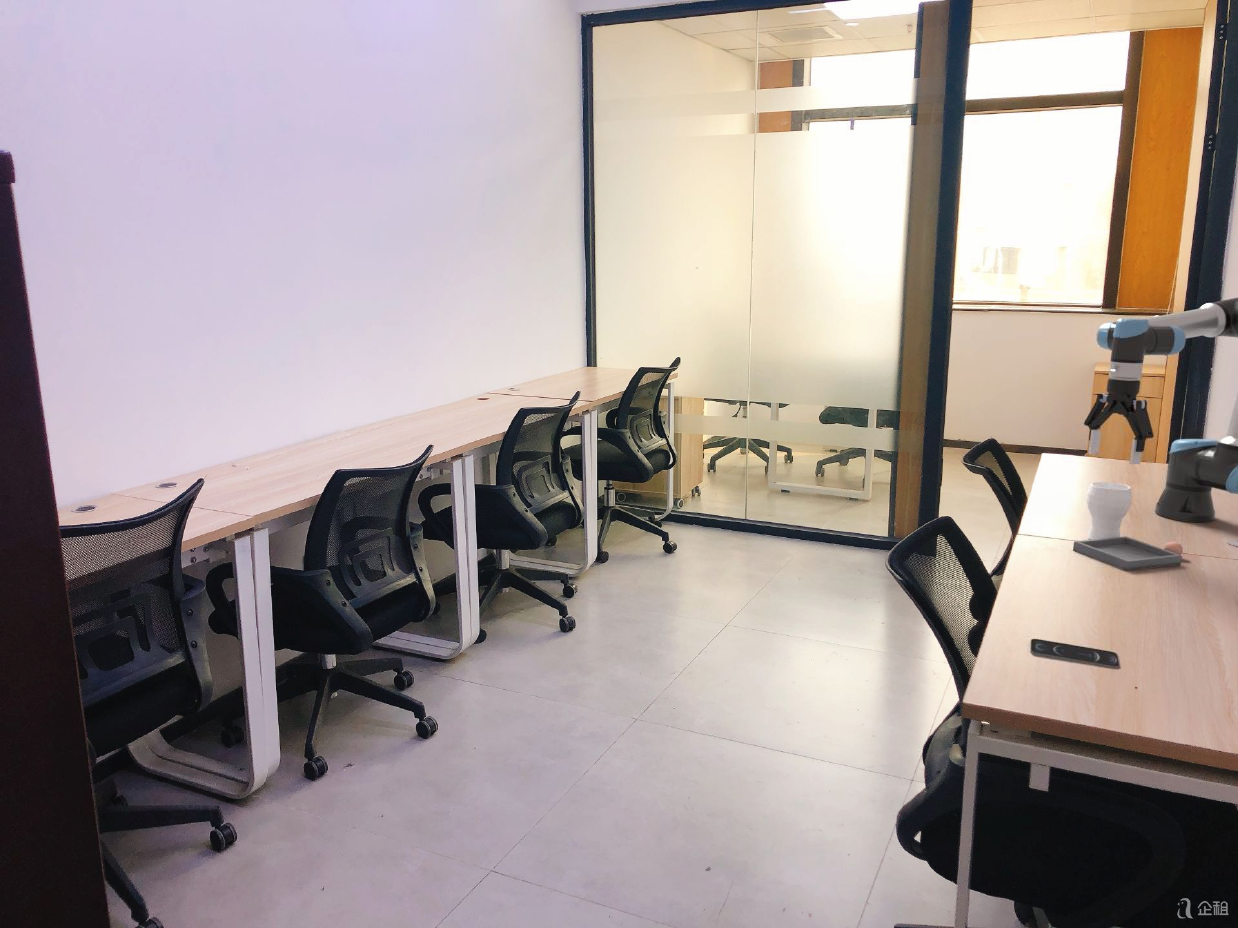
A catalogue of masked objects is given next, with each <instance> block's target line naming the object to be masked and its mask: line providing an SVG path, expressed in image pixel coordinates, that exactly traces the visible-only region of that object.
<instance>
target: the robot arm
mask: <svg viewBox="0 0 1238 928" xmlns="http://www.w3.org/2000/svg"><path fill="white" fill-rule="evenodd" d="M1200 336H1204V337H1207V338H1216V337H1229V338H1238V297H1234V298H1229V299H1224V300H1219V301H1218V300H1217V301H1215V302H1208V303H1205V304H1203V305H1201V306H1200V307H1199V308H1197V309H1191V310H1186V311H1179V312H1175V313H1168V314H1164V315H1159V316H1152V317H1147V318H1138V317H1137V318H1133V317H1128V318H1127V317H1122V318H1118V319H1117V320H1116V321H1111V322H1110V321H1109V322H1104V323H1103V324H1101V326H1099V328H1098V329H1097V332H1096V342H1097V345H1098V346H1099V347H1100V348H1102V349H1105V350H1109V351H1111V355H1110V362H1109V370H1108V376H1109V377H1110V378H1108V379H1107V382H1106V383H1107V384H1106V392H1107V393H1098V394H1097V396H1096V400H1095V402H1094V405H1093V406H1092V407H1091V410H1090V411H1089V413H1088V415H1087V417H1086V418H1085V419H1084V422H1083V424H1084V426H1086V427H1088V429H1089V433H1088V441H1089V445H1088V446H1089V447H1088V454H1089V455H1096V454H1099V451H1100V447H1101V446H1100V444H1101V438H1102V429H1101V427H1102V425H1104V424H1105V422H1106V421H1107V420H1108V419H1109V418H1110V417H1111V416H1112V415H1113V414H1118V415H1121V416H1122V415H1123V417H1124V418H1125V419H1126V421H1127V423H1128V425H1129V427H1130V429H1131V431H1132V433H1133V435H1134V438H1132V443H1131V451H1130V457H1129V458H1130V459H1129V465H1140V464H1141V462H1142V461H1141V460H1142V453H1144V451H1145V445H1146V441H1147V439H1153V438H1154V436H1155V435H1154V431H1153V427H1152V423H1151V420H1150V417H1149V416H1150V415H1149V412H1148V401H1147V400H1146V399H1143V400H1142V399H1141V400H1140V399H1139V400H1138V399H1137V395H1139V394H1140V388H1141V380H1140V379H1141V378H1142V373H1143V368H1144V367H1143V366H1144V359H1145V356H1165V357H1166V356H1172V355H1178V354H1179V353H1180V352H1181V351H1182V350H1183V349H1184V348H1185V346H1186V341H1187V339H1190V338H1195V337H1200ZM1231 412H1232V413H1231V416H1230V419H1229V424H1228V427H1227V431H1226V435H1225V436H1224V437H1223V438H1221V439H1219V440H1217V439H1209V438H1206V439H1205V438H1183V439H1182V438H1181V439H1175V440H1174V441H1173V442H1172V443H1171V445H1170V446H1171V447H1170V451H1169V454H1168V455H1169V456H1168V464H1167V470H1166V471H1167V472H1166V473H1167V474H1166V478H1165V479H1166V481H1165V487H1164V489H1163V491H1162V492H1161V495H1160V497H1159V499H1158V501H1157V502H1156V505H1155V510H1154V512H1155V514H1156V515H1159V516H1161V517H1163V518H1167V519H1170V520H1177V521H1180V522H1181V521H1182V522H1190V523H1207V522H1208V523H1209V522H1213V521H1215V517H1216V511H1215V508H1214V502H1213V500H1214V499H1213V496H1212V489H1216V490H1220V491H1224V492H1228V493H1230V494H1233V495H1238V392H1237V393H1236V397H1235V401H1234V405H1233V408H1232V411H1231Z"/></svg>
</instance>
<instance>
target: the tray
mask: <svg viewBox="0 0 1238 928" xmlns="http://www.w3.org/2000/svg"><path fill="white" fill-rule="evenodd" d="M1072 551H1074V552H1076V553H1079V554H1081V555H1084V556H1087V557H1089V558H1091V559H1094V560H1096V561H1100V562H1103V563H1105V564H1108V565H1110V566H1113V567H1115V568H1118V569H1120V570H1123V571H1126V572H1128V571H1139V570H1147V569H1156V568H1164V567H1173V566H1175V567H1176V566H1181V565H1182V559H1183V555H1182V554H1181V555H1179V554H1176V553H1173V552H1170V551H1167V550H1164V548H1161V547H1158V546H1155V545H1152V544H1149V543H1146V542H1144V541H1141V540H1137V539H1135V538H1132V537H1129V536H1127V535H1126V536H1125V535H1124V536H1120V537H1114V538H1104V539H1094V540H1090V539H1086V540H1077V541H1076V540H1075V541H1073V549H1072Z"/></svg>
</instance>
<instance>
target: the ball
mask: <svg viewBox="0 0 1238 928" xmlns="http://www.w3.org/2000/svg"><path fill="white" fill-rule="evenodd" d="M1163 549H1164V550H1167V551H1170V552H1173V553H1176V554H1179V555H1182V554H1183V546H1182V544H1180V543H1179V542H1177V541H1170V542H1169V541H1168V542H1167V543H1166V544H1165V545H1164V548H1163Z"/></svg>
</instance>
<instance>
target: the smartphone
mask: <svg viewBox="0 0 1238 928" xmlns="http://www.w3.org/2000/svg"><path fill="white" fill-rule="evenodd" d="M1031 654H1032V655H1033V656H1035V657H1036V656H1037V657H1041V658H1042V657H1043V658H1047V659H1048V658H1049V659H1054V660H1060V661H1065V662H1066V661H1067V662H1073V663H1080V664H1085V665H1092V666H1097V667H1103V668H1110V669H1119V668H1120V660H1119V655H1118V653H1116V652H1114V651H1111V650H1110V651H1109V650H1105V649H1099V648H1094V647H1087V646H1081V645H1075V644H1068V643H1064V642H1063V643H1062V642H1057V641H1052V640H1051V641H1050V640H1045V639H1039V638H1031V640H1030V655H1031Z"/></svg>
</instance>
